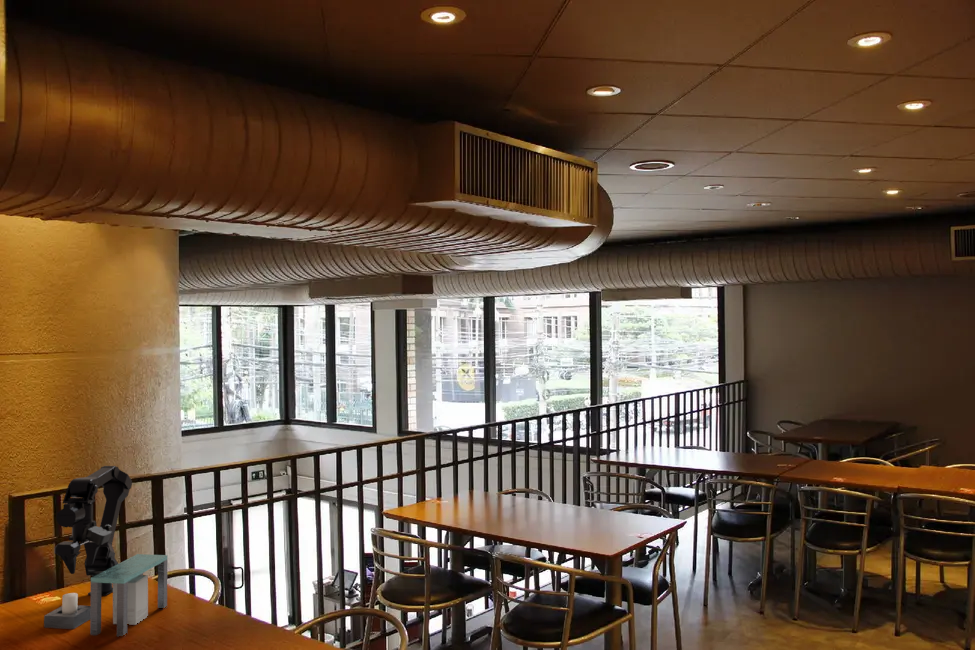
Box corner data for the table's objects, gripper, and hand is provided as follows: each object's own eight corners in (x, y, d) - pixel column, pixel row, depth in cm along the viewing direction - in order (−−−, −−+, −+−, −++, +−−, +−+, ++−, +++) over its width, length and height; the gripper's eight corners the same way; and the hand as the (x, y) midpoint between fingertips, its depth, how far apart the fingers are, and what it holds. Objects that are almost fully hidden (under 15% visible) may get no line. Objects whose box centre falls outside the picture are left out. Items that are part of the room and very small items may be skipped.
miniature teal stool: (137, 605, 248) (137, 554, 248) (167, 607, 247) (167, 555, 247) (90, 634, 224) (90, 578, 224) (123, 636, 223) (123, 579, 223)
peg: (66, 619, 236) (67, 592, 236) (79, 620, 235) (80, 593, 236) (58, 624, 232) (59, 597, 232) (71, 625, 231) (72, 597, 232)
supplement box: (148, 616, 239) (149, 574, 239) (135, 625, 232) (135, 582, 232) (125, 615, 240) (126, 573, 240) (111, 624, 232) (112, 581, 232)
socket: (64, 616, 239) (64, 604, 239) (92, 617, 238) (93, 605, 238) (44, 627, 229) (44, 615, 229) (73, 629, 228) (73, 617, 228)
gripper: (88, 527, 236) (87, 579, 236) (123, 513, 254) (123, 561, 254) (53, 526, 237) (53, 578, 237) (91, 512, 256) (91, 560, 256)
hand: (81, 569), depth 246 cm, fingers open, 9 cm apart
